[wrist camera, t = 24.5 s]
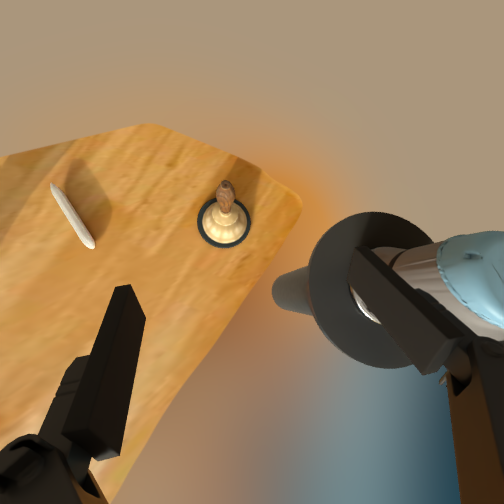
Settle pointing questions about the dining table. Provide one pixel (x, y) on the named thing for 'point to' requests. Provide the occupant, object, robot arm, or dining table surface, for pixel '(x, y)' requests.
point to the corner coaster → (214, 243)
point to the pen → (72, 217)
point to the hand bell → (224, 216)
